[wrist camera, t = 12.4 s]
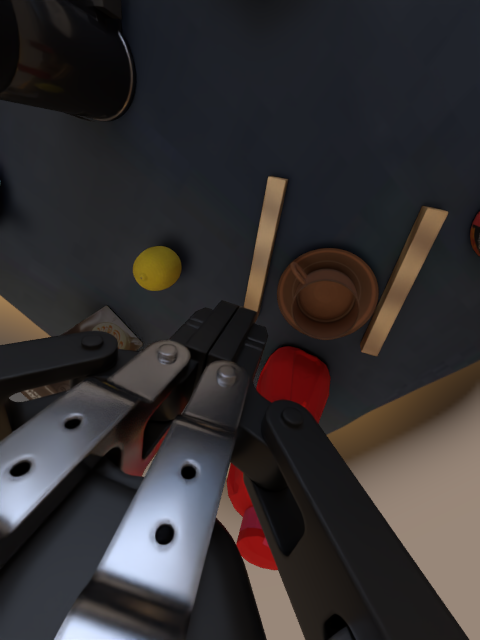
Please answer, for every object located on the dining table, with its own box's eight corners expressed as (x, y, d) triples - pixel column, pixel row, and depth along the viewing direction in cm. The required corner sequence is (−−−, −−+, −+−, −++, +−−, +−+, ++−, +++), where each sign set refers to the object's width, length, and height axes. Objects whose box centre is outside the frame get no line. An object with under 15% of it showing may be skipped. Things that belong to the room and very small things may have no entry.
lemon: (174, 232, 40) (142, 246, 33) (197, 267, 41) (170, 287, 34) (148, 252, 42) (112, 269, 35) (170, 284, 44) (140, 306, 37)
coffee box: (89, 322, 52) (2, 378, 38) (107, 304, 49) (19, 357, 35) (125, 359, 54) (55, 425, 40) (145, 344, 51) (76, 410, 37)
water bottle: (344, 354, 41) (357, 558, 20) (308, 403, 47) (288, 602, 25) (285, 326, 42) (235, 494, 20) (256, 378, 47) (194, 552, 26)
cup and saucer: (263, 303, 41) (253, 323, 36) (311, 225, 34) (307, 236, 29) (337, 346, 41) (338, 373, 35) (399, 276, 34) (410, 296, 29)
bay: (271, 175, 33) (268, 176, 32) (442, 209, 30) (448, 212, 29) (245, 312, 42) (241, 318, 41) (375, 348, 39) (376, 356, 38)
